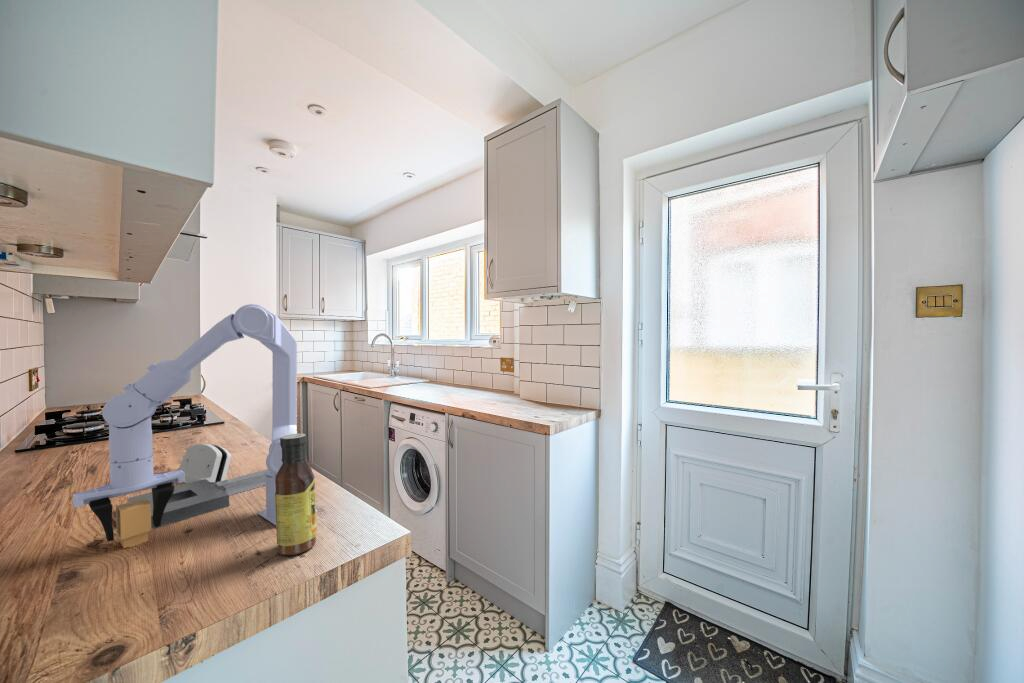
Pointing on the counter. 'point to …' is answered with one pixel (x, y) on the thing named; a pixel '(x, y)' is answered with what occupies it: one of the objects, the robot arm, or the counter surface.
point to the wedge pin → (133, 522)
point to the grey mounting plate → (202, 496)
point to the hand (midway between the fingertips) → (134, 532)
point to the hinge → (205, 463)
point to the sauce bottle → (295, 498)
